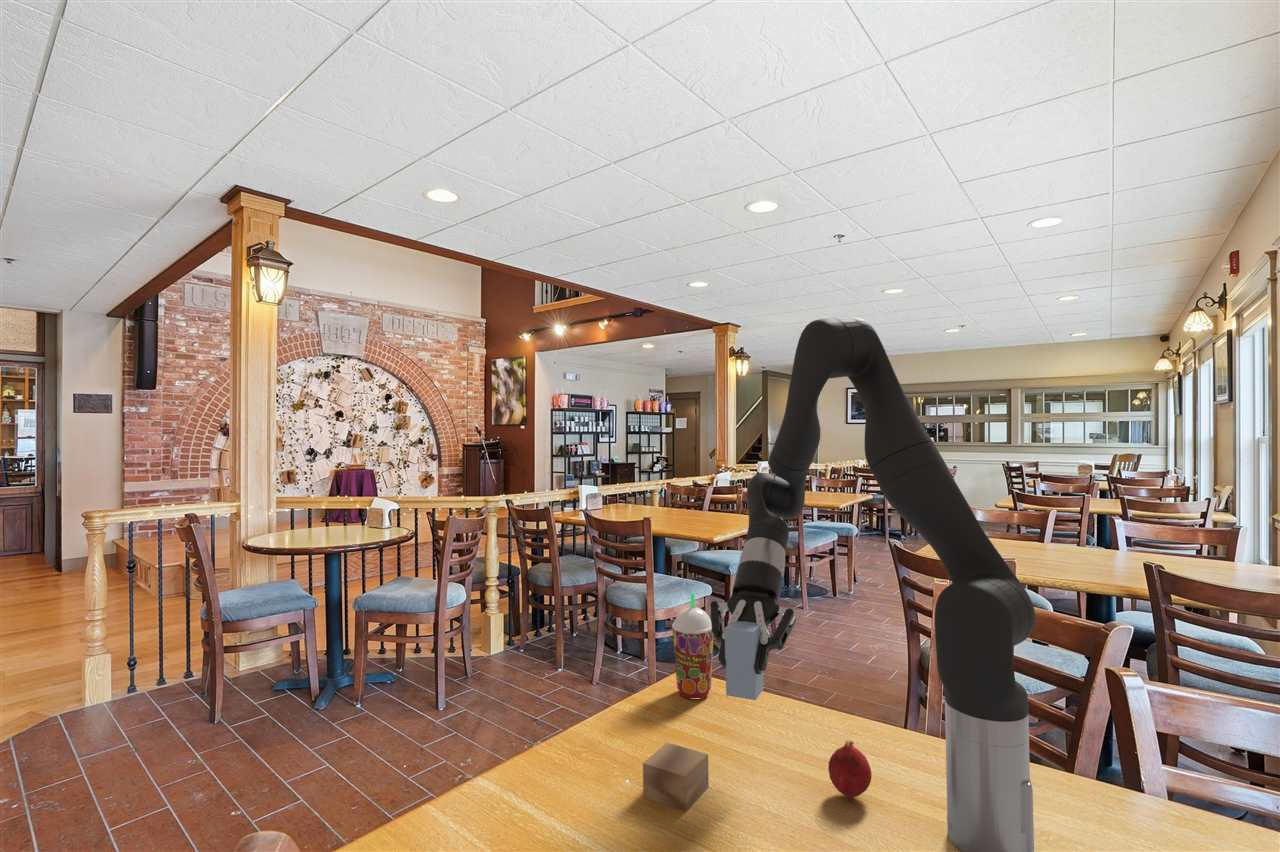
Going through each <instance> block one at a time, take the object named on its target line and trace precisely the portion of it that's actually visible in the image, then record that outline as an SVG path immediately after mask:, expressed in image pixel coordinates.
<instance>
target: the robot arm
mask: <svg viewBox="0 0 1280 852" xmlns="http://www.w3.org/2000/svg"><path fill="white" fill-rule="evenodd" d="M797 341H798V342H797V346H796V349H795V353H794V359H793V364H792V370H791V374H790V375H791V376H790V381H789V387H788V393H787V399H786V405H785V410H784V414H783V418H782V422H781V425H780V428H779V431H778V433H777V437H776V439H775V441H774V444H773V446H772V450H771V453H770V454H769V458H768V467H769V469H770V471H771V472H773V474H774V475H773V474H769V473H767V472H759V473H756V474H755V475H753V476H752V477H751V478H750V480H749V482H748V485H747V488H746V504H747V505H746V506H747V510H748V511H747V512H748V528H747V533H746V538H745V541H744V546H743V548H742V550H741V553H740V556H739V561H738V566H737V569H736V573H735V578H734V582H733V588H732V591H731V592H732V593H731V596H730V597H729V598H728V600H727V601H726V602H725V601H724V602H719V603H718V601H717V600H712V601H711V602H710V604H709V605H710V620H711V624H712V633H713V638H714V639H715V640H716V642H718V643H721V644H720V647H719V652H718V657H717V658H718V661H719V664H720V665H721V667H722V669H724V670H726V659H725V630H724V631H723V619H724V618H725V616H726V612H727V611H729V613H730V618H729V619H728V621H727V626H728V625H729V624H730V623H731V622H732V621H733V622H737V621H745V622H754V623H757V624H759V625H760V636H759V638H760V645H758V648H757V653H756V659H755V664H754V670H755V672H756V674H760V675H761V673H762V671H763V672H766V670H767V666H768V661H769V657H770V656H769V655H770V652H771V651H772V650H778V651H780V650H782V649H783V648H784V646H785V644H786V642H787V640H788V638H789V637H790V634H791V632H792V630H793V628H794V626H795V623H796V621H797V618H796V615H795V612H794V609H792V608H787V609H786V608H785V609H784V608H782V607H781V606H780V604H779V602H780V599H781V598H780V596H781V591H782V585H783V584H782V583H783V578H784V576H785V568H786V567H785V566H786V552H787V548H788V542H789V534H790V533H789V532H790V528H789V525H788V523H787V522H786V521H785V520H792V519H796V517H798V516H799V515H801V513H802V511H803V509H804V506H805V499H806V480H807V476H808V472H809V470H810V467H811V464H812V462H813V460H814V457H815V455H816V452H817V450H818V449H819V448H818V447H819V444H820V441H821V426H820V425H821V424H820V419H819V416H818V415H819V414H818V407H817V406H818V400H819V397H820V395H821V393H822V390H823V389H824V388H825V386H826V383H827V382H828V381H829V379H836V378H837V379H838V378H844V377H845V378H846V377H847V378H848V379H849V380H850V382H851V383H852V385H853V386H854V388H855V390H856V392H857V395H858V396H859V398H860V400H861V403H862V405H863V409H864V414H865V416H864V417H865V422H864V423H865V424H864V425H865V426H864V455H865V456H864V457H865V460H866V462H867V465H868V467H869V469H870V471H871V473H872V475H873V478H874V479H875V481H876V482H877V485H878V487H879V489H880V491H881V492H882V495H883V496H884V497H885V499H886V500H887V502H888V503H889V505H890V506H891V507H892V508H893V509H894V511H895V512H896V513H897V514H898V515H899V516H900V517H901V518H902V519H903V520H904V521H905V522H906V523H908V525H909V526H910V527H912V529H914V530H915V531H916V533H918V534H919V535H920V536H921V537H922V538H923V539H924V540H925V541H926V542H927V543H928V545H929V546H930V547H931V548H932V550H934V552H935V554H936V555H937V557H938V558H939V560H940V562H941V563H942V566H943V567H944V569H945V571H946V573H947V574H948V577H949V579H950V581H951V584H949V585H947V586H946V587H945V588H944V589H943V590H942V591H941V592H940V593H939V595H938V597H937V599H936V604H935V608H934V637H935V638H934V639H935V652H936V653H935V654H936V664H937V665H936V667H937V673H938V677H939V679H940V681H941V684H942V686H943V690H944V691H943V692H944V713H945V717H944V718H945V724H944V725H945V766H946V767H945V769H946V771H945V772H946V774H945V775H946V810H947V811H946V822H947V834H948V835H947V836H948V838H949V840H950V842H951V843H952V844H953V845H954V846H955V848H957V849H958V850H959V851H961V852H1035V831H1034V791H1033V788H1034V787H1033V783H1032V780H1031V775H1030V774H1031V773H1030V772H1031V771H1030V767H1031V766H1030V765H1031V764H1030V727H1029V726H1030V725H1029V722H1030V721H1029V697H1028V695H1029V694H1028V693H1027V690H1026V688H1025V687H1024V686H1023V685H1022V684H1021V683H1019V682H1018V681H1017V680H1016V677H1015V676H1016V675H1015V660H1014V658H1015V657H1014V647H1016V646H1017V645H1019V644H1021V643H1023V642H1024V641H1026V640H1027V639H1028V638H1029V637H1030V636H1031V634H1032V633H1033V631H1034V629H1035V626H1036V612H1035V611H1036V610H1035V607H1034V605H1033V604H1034V603H1033V601H1032V599H1031V597H1030V595H1029V594H1028V592H1027V590H1026V588H1025V587H1024V585H1023V584H1022V583H1021V581H1020V580H1019V578H1017V576H1016V574H1015V573H1014V572H1013V570H1012V569H1011V567H1010V566H1009V565H1008V564H1007V562H1006V561H1005V559H1004V558H1003V556H1002V555H1001V553H999V551H998V549H997V548H996V547H995V546H994V544H993V543H992V541H991V540H990V538H989V537H988V536H987V534H986V533H985V531H984V529H983V528H982V526H981V524H980V522H979V521H978V519H977V517H976V515H975V514H974V512H973V509H972V508H971V506H970V505H969V502H968V501H967V499H966V498H965V495H964V494H963V492H962V490H961V489H960V488H959V486H958V483H957V482H956V481H955V479H954V477H953V475H952V473H951V471H950V469H949V467H948V465H947V463H946V462H945V459H943V456H942V455H941V453H940V452H939V450H938V448H937V446H936V444H935V442H934V441H933V439H932V438H931V436H930V435H929V433H928V432H927V430H926V429H925V427H924V425H923V424H922V422H921V420H920V418H919V416H918V415H917V412H916V411H915V409H914V407H913V405H912V404H911V402H910V400H909V398H908V396H907V395H906V393H905V391H904V389H903V387H902V386H901V382H900V380H899V378H898V377H897V374H896V372H895V369H894V368H893V366H892V364H891V360H890V358H889V357H888V354H887V351H886V349H885V347H884V345H883V343H882V341H881V339H880V337H879V334H878V333H877V331H876V329H874V327H873V326H872V324H870V323H869V322H868V321H867V320H866V319H864V318H861V317H857V316H844V317H843V316H842V317H827V318H820V319H816V320H812V321H811V322H809V323H808V324H806V326H805V327H804V329H802V332H801V333H800V336H799V338H798V340H797ZM777 617H778V620H779V623H778V625H777V627H776V629H775V631H774V633H773V635H772V636H770V632H769V625H770V624H771V623H772V622H773V621H774V620H775V619H776V618H777ZM727 626H726V627H727Z"/></svg>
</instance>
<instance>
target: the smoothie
mask: <svg viewBox="0 0 1280 852" xmlns="http://www.w3.org/2000/svg"><path fill="white" fill-rule="evenodd" d="M671 626H672V637H673V639H672V640H673V650H674V652H673V653H674V662H675V664H674V665H675V674H676V675H675V677H676V678H675V679H676V687H677V690H678V691H679V694H680V696H681V697H683V698H685V699H687V698H702V699H704V698H703V697H705V696H706V697H707V695H709V691H711V689H712V676H713V675H712V674H713V673H712V671H713V652H714V649H713V648H714V635H713V633H712V624H711V617H710V616H709V615H708V613H707V612H706V611H705V610H704V609H702V608H700V607H697V606H695V593H690V606H689V607H685V608H684V609H682V610H681V611H679V613H678V614H677V615H676V617H675V619H674V622H673V623H672V625H671ZM706 697H705V698H706Z"/></svg>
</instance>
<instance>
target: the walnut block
mask: <svg viewBox="0 0 1280 852" xmlns="http://www.w3.org/2000/svg"><path fill="white" fill-rule="evenodd" d="M709 781H710V779H709V753H705V752H701V751H698V750H695V749H691V748H687V747H684V746H681V745H677V744H673V743H670V742H665V743H664V744H663V745H662V746H661V747H660V748H658V750H656V751H655V752H654V753H653V754H652V755H650V756H649V758H647V759H646V760H645V761H644V762H642V787H643V788H642V790H643V791H642V793H643V794H642V795H643V796H642V797H643V798H645V799H648V800H650V801H654V802H657V803H659V804H662V805H665V806H668V807H670V808H673V809H677V810H680V811H682V812H684V813H687V812H688V811H690V809H691V808H692V807H693V805H695V803H696V802H697V801H698V800H699V799H700V798H701V796H703V794H705V792H706V791H707V790H708V789H709V787H710V786H709V784H710V783H709Z"/></svg>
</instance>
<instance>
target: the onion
mask: <svg viewBox="0 0 1280 852" xmlns="http://www.w3.org/2000/svg"><path fill="white" fill-rule="evenodd" d="M854 745H855V744H854V741H852V740H851V739H847V740H846V741H845V743H844V745H843V746H841V747H839V748H837V749H836V750H835V751H834V752H833V753H832V755H831V756H830V758H829V761H828V767H827V768H828V773H829V779H830V781H831V783H832V784H833V786H834V788H836V789H837V791H838V792H839V793H840V794H842V795H843V796H845V797H846V798H848V799H854V798H855V797H856V798H857V797H859V796H860V795H862V794H863V793H865V792H866V791H868V788H869V787H870V785H871V781H872V769H871V765H870V763H869V762H868V761H869V760H868V759H867V758H866V756H865V755H864V753H862V752H861V751H860V750H859V749H858V748H856V747H855V746H854Z"/></svg>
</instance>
